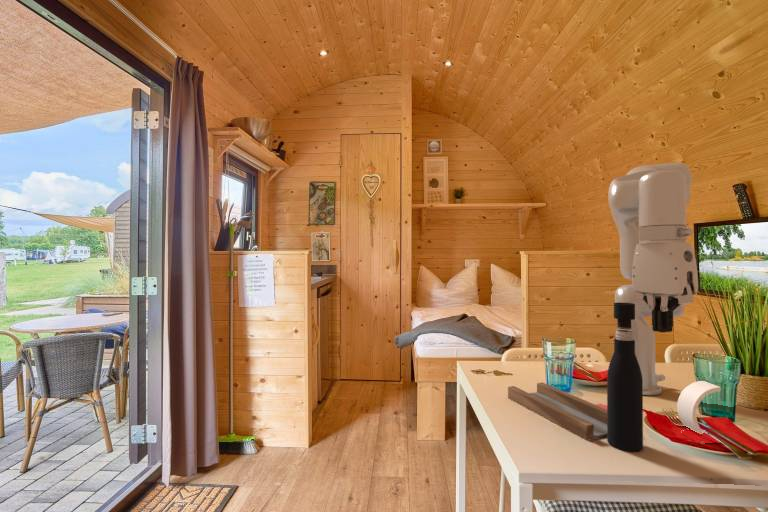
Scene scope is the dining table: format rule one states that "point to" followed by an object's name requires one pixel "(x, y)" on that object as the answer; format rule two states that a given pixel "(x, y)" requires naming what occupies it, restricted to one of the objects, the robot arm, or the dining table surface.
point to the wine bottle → (624, 386)
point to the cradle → (564, 410)
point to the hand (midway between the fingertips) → (662, 331)
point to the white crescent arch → (693, 403)
